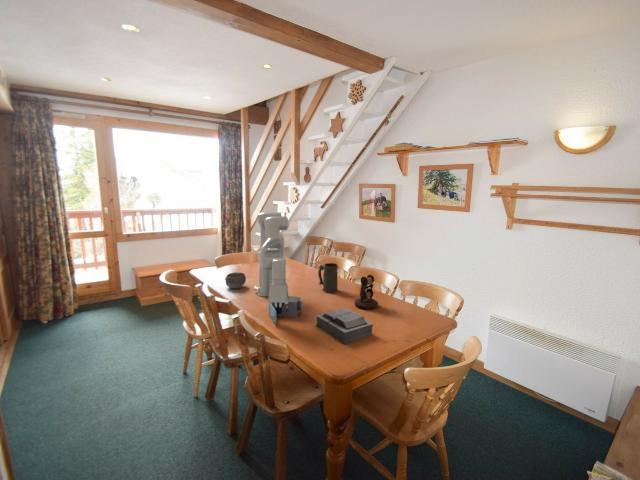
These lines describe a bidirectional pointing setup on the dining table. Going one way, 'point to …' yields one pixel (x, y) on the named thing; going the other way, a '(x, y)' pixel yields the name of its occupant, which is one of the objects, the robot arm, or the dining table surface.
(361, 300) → the brown figurine
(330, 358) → the dining table surface
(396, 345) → the dining table surface
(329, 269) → the beer stein
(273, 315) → the side door
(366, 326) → the grey stacked slabs
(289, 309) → the camera body
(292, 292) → the dining table surface
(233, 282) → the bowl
